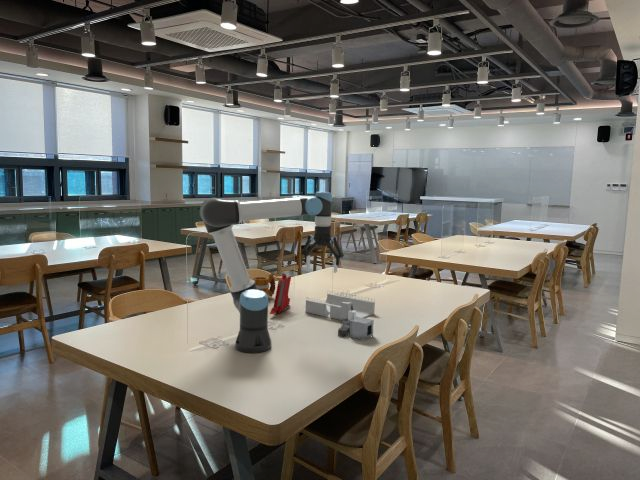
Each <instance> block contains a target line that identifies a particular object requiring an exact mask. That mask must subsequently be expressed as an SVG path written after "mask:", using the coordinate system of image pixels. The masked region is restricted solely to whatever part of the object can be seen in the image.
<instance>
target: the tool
mask: <svg viewBox="0 0 640 480" xmlns="http://www.w3.org/2000/svg"><path fill="white" fill-rule="evenodd" d="M281 275H282V276H281V278H280V279H278V280H277V287H276V290H275V291H276V292H275V296H274V297H275V298H274V302H273V307H271V310H270V312H269V315H275V314H276V313H277V314H281V313H282V312H285V311H286V310H287V309H289V308H290V307H291V305H290V302H291V298H290V297H289V290H290V285H291V280H292V276H291V275H289V276H287V274H286V273H284V272H283V273H282V274H281Z"/></svg>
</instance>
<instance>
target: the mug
mask: <svg viewBox="0 0 640 480" xmlns="http://www.w3.org/2000/svg"><path fill="white" fill-rule="evenodd" d="M274 276H275V275H274V273H272V272H271V273H270V274H269V276H268V277H265V276H257V277H253V278H251V279H252V280H254V281H255V283H256V286H257V289H258V290H260V291H264V292H265V293H266V294H267V296H268V301H269V300H270V298H272V297H273V295H275V291H276V281H275V277H274Z"/></svg>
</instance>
